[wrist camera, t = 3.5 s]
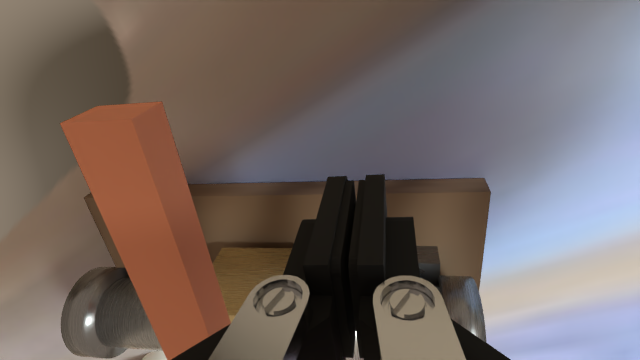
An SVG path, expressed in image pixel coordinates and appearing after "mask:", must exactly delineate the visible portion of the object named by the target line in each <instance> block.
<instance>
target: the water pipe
mask: <svg viewBox="0 0 640 360" xmlns="http://www.w3.org/2000/svg"><path fill="white" fill-rule="evenodd" d="M291 250H292V248H222V249H221V250H220V252H219V254H218V255H217V257H216V259H215V260H214V262H213V267H214V270H215V274H216V277H217V280H218V283H219V286H220V290H221V293H222V296H223V299H224V302H225V306H226V309H227V312H228V315H229V319H230V322H232V321H233V319H234V317H235V316H236V314H237V313H238V311H239V309H240V308H241V306H242V305H243V303H244V301H245V300H246V298H247V297H248V295H249V293H250V292H251V291H252V290H253V288H254V287H255V286H256V285H258V284H259V283H261V282H262V281H264V280H266V279H268V278H270V277H274V276H278V275H283V273H284V270H285V268H286V265H287V262H288V259H289V256H290V253H291ZM417 255H418V264H419V273H420V278H422V279H424V280H426V281H428V282H430V283H431V284H433V285H434V286H435V287H436V288H437V289H438V291H439V292H440V294H441V296H442V298H443V300H444V303H445V306H446V308H447V311H448V314H449V316H450V318H451V319H452V320H454V321H455V322H457V323H458V324H460V325H461V326H462V327H464V328H465V329H467V330H468V331H470V332H471V333H473V334H474V335H476V336H477V337H478V338H480V339H481V340H483V341H484V342H486V332H485V323H484V315H483V309H482V304H481V299H480V295H479V291H478V288H477V285H476V282H475V280H474V279H473V277H471V276H443V275H440V259H439V253H438V248H437V246H417ZM61 333H62V338H63V341H64V343H65V345H66V347H67V348H68V349H69V351H71V352H72V353H73V354H75V355H78V356H83V357H96V358H113V357H116V356H118V355H120V354H121V353H123V352H124V351H125V350H127V349H128V348H130V349H145V350H159V351H163V350H162V347H161V345H160V343H159V341H158V339H157V336H156V334H155V332H154V330H153V328H152V325H151V323H150V321H149V319H148V317H147V314H146V312H145V310H144V308H143V306H142V303H141V301H140V299H139V297H138V294H137V292H136V290H135V288H134V286H133V283H132V281H131V279H130V277H129V275H128V272H127V270H126V268H121V267H99V268H95V269H93V270H91V271H89V272H87V273H86V274H85V275H83V276H82V277H81V278H80V279H79V280H78V281H77V282H76V284H75V285H74V286H73V288H72V290H71V291H70V293H69V295H68V297H67V299H66V302H65V304H64V308H63V311H62V317H61ZM346 360H364V358H360V357H359V350H358V343H357V335H356V336H355V348H354V357H353V358H346Z"/></svg>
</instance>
